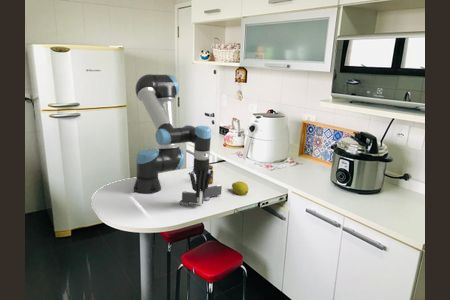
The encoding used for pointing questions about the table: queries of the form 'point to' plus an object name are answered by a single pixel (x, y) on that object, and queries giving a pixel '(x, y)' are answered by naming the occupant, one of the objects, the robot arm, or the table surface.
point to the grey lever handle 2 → (212, 192)
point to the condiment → (211, 175)
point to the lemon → (240, 188)
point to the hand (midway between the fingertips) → (199, 202)
